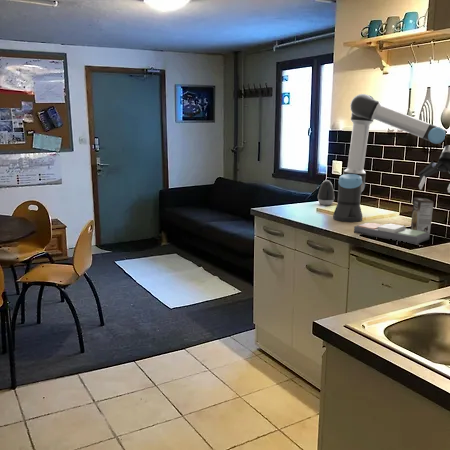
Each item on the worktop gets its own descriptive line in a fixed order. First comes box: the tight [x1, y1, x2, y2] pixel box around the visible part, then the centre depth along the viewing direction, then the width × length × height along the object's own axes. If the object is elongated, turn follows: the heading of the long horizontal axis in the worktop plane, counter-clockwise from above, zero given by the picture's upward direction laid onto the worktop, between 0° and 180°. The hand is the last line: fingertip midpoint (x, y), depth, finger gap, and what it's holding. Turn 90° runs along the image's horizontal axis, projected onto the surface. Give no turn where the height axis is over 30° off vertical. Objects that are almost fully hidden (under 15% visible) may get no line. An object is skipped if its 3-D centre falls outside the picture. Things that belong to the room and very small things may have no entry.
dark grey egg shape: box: [317, 179, 335, 206], centre depth 303 cm, size 10×10×15 cm
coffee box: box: [410, 197, 434, 234], centre depth 229 cm, size 9×6×16 cm
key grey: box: [377, 223, 406, 233], centre depth 224 cm, size 8×11×2 cm
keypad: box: [353, 222, 431, 245], centre depth 224 cm, size 30×14×3 cm, turn 46°
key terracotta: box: [358, 222, 382, 229], centre depth 230 cm, size 8×11×2 cm
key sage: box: [398, 228, 426, 237], centre depth 218 cm, size 8×11×2 cm
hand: (433, 189), depth 235 cm, fingers open, 13 cm apart
